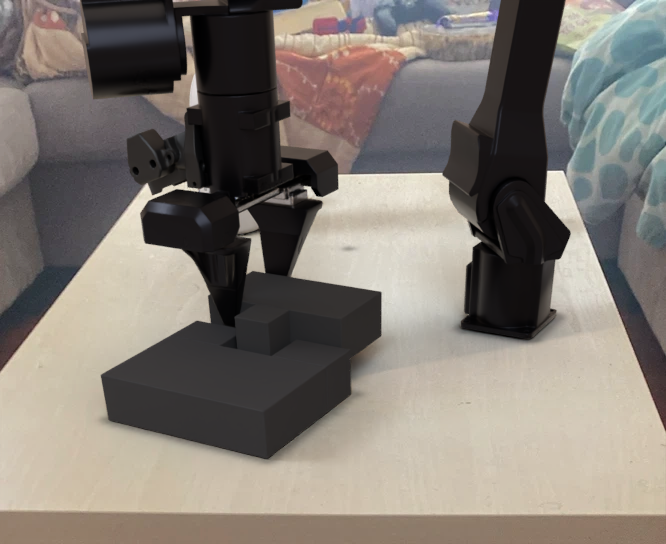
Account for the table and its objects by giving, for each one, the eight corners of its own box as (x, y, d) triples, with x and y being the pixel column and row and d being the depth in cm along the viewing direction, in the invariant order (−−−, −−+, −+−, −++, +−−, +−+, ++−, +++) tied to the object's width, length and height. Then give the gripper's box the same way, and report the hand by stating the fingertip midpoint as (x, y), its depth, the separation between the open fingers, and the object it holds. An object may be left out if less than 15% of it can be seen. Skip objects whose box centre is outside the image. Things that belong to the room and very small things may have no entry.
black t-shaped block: (381, 336, 83) (381, 291, 81) (322, 379, 77) (320, 332, 74) (255, 313, 88) (252, 270, 85) (190, 352, 81) (184, 307, 79)
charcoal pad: (351, 394, 79) (350, 349, 77) (267, 459, 71) (263, 411, 69) (201, 363, 85) (196, 319, 82) (108, 420, 77) (99, 374, 75)
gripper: (217, 60, 83) (235, 264, 93) (62, 105, 71) (102, 334, 81) (339, 68, 78) (343, 281, 89) (196, 118, 66) (220, 358, 76)
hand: (254, 311), depth 84 cm, fingers closed on black t-shaped block, 6 cm apart
